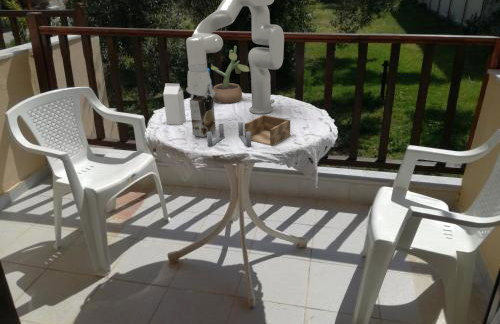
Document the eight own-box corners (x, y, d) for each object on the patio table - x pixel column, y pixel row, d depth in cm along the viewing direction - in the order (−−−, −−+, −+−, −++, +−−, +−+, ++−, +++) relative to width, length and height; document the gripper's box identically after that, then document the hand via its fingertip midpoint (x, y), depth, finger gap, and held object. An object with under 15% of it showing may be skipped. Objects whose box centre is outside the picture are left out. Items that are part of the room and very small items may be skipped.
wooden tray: (263, 129, 192) (263, 114, 189) (290, 135, 184) (290, 120, 181) (245, 139, 182) (244, 123, 179) (272, 145, 174) (272, 129, 171)
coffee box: (204, 137, 183) (200, 101, 176) (192, 135, 187) (188, 99, 180) (216, 130, 190) (213, 95, 183) (205, 128, 193) (201, 93, 186)
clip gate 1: (220, 136, 186) (219, 123, 183) (225, 137, 185) (224, 124, 182) (206, 146, 176) (205, 132, 173) (211, 147, 175) (210, 133, 172)
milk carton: (180, 125, 201) (176, 85, 193) (166, 124, 203) (162, 85, 195) (185, 120, 208) (182, 81, 200) (172, 119, 209) (167, 81, 201)
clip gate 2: (243, 135, 186) (242, 122, 184) (252, 146, 174) (251, 132, 172) (237, 135, 186) (237, 122, 183) (246, 147, 174) (246, 133, 171)
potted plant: (204, 102, 235) (200, 46, 222) (224, 94, 248) (221, 41, 236) (238, 107, 223) (235, 49, 210) (256, 99, 236) (255, 44, 224)
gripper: (176, 67, 178) (181, 108, 186) (207, 71, 168) (211, 114, 176) (189, 63, 183) (193, 103, 191) (219, 67, 174) (223, 109, 181)
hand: (202, 108), depth 184 cm, fingers closed on coffee box, 6 cm apart
